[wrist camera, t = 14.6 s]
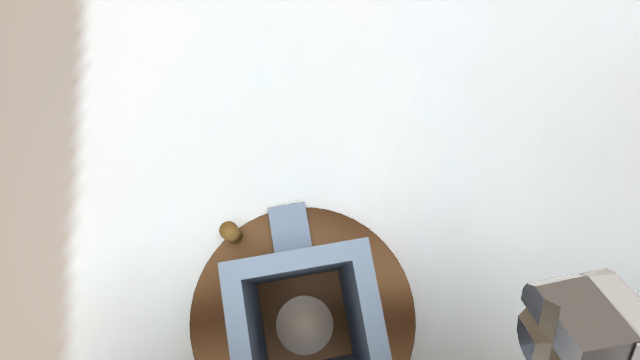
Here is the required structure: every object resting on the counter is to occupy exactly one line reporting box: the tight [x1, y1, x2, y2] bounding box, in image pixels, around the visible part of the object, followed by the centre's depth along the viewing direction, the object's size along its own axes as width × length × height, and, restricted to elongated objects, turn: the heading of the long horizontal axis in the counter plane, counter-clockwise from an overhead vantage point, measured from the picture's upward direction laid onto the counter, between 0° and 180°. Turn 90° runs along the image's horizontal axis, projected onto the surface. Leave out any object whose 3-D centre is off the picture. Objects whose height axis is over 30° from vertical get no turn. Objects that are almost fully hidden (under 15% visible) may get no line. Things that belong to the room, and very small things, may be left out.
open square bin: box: [218, 202, 392, 360], centre depth 24 cm, size 9×6×8 cm, turn 10°
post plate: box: [190, 208, 415, 360], centre depth 25 cm, size 12×12×7 cm
